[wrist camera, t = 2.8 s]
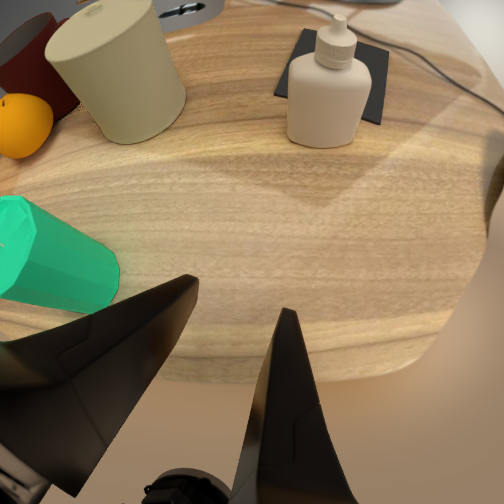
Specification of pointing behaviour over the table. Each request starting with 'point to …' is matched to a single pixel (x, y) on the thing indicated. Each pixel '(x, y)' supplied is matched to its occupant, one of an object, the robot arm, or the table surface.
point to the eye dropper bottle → (327, 90)
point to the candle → (52, 261)
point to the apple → (23, 124)
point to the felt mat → (363, 52)
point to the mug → (35, 65)
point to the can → (119, 68)
